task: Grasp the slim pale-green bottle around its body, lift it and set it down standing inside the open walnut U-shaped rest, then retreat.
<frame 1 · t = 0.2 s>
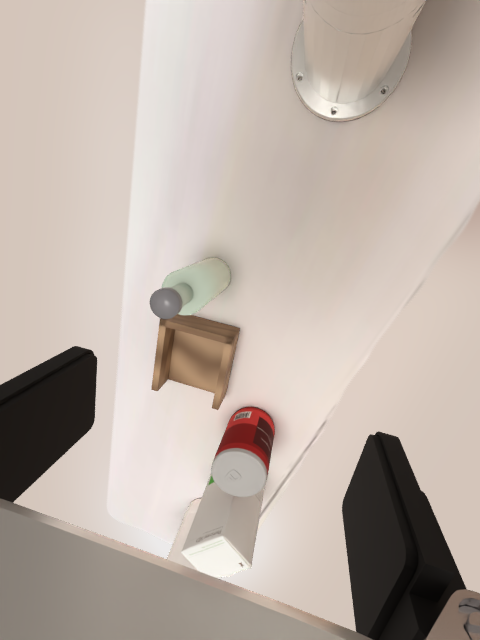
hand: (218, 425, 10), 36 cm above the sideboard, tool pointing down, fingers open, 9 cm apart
u rest: (200, 353, 51), on the sideboard
skincare box: (239, 472, 57), on the sideboard
canned food: (252, 424, 53), on the sideboard
bottle 2: (208, 512, 61), on the sideboard
bottle: (213, 275, 47), on the sideboard
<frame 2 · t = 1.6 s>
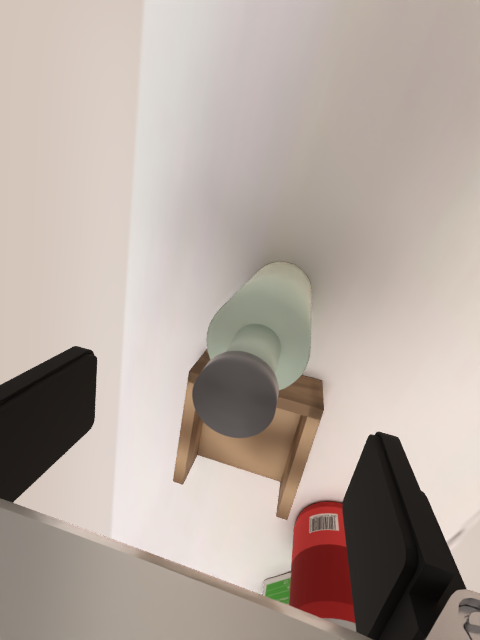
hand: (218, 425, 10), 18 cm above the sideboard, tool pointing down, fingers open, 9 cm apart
u rest: (250, 417, 31), on the sideboard
skincare box: (306, 588, 37), on the sideboard
canned food: (331, 526, 33), on the sideboard
bottle: (280, 292, 27), on the sideboard
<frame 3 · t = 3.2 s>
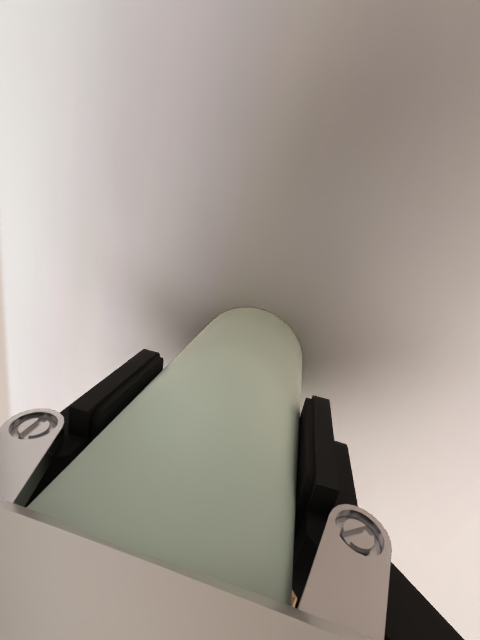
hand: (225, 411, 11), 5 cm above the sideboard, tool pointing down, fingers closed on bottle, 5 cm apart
bottle: (248, 358, 16), on the sideboard, touching gripper
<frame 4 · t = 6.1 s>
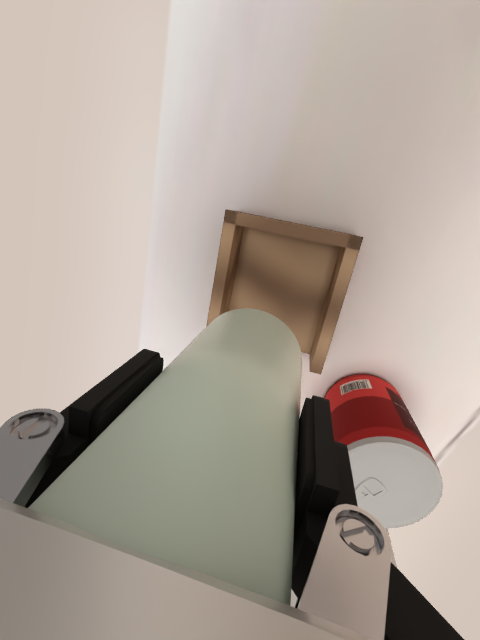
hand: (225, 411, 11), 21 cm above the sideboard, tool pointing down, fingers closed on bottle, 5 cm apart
u rest: (280, 285, 31), on the sideboard
canned food: (359, 404, 33), on the sideboard
bottle: (248, 359, 16), point 17 cm above the sideboard, touching gripper
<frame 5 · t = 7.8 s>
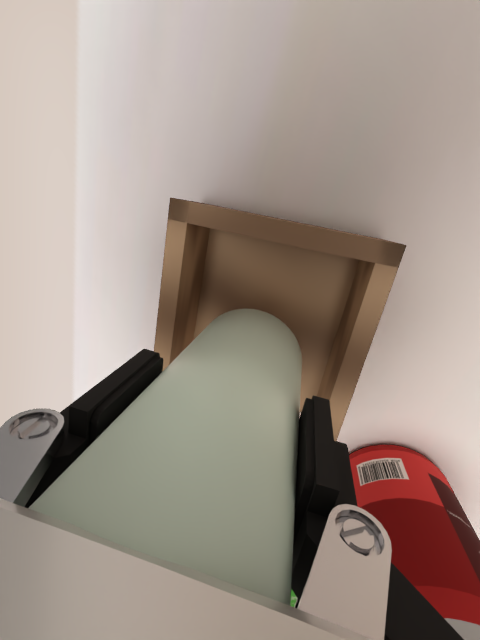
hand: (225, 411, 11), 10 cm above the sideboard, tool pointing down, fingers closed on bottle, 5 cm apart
u rest: (266, 314, 21), on the sideboard
canned food: (383, 484, 23), on the sideboard
bottle: (248, 359, 16), point 6 cm above the sideboard, touching gripper
when the fingers open (7 cm above the sideboard, at t = 9.0 s): bottle drops 1 cm, resting on u rest.
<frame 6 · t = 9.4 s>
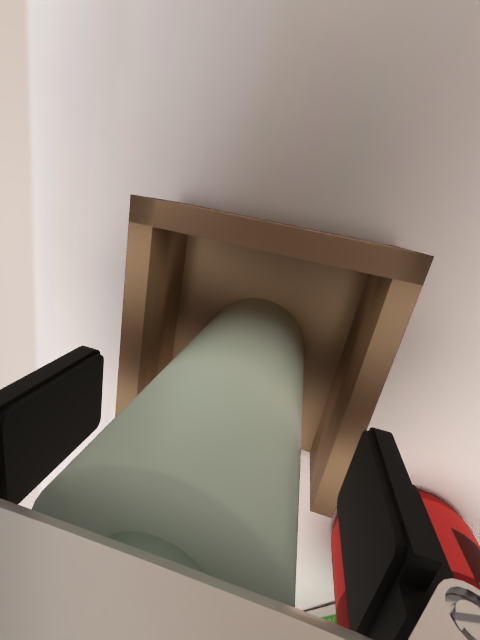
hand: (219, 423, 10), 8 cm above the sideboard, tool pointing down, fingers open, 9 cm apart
u rest: (257, 334, 17), on the sideboard
skincare box: (345, 632, 23), on the sideboard
canned food: (394, 530, 20), on the sideboard
bottle: (255, 345, 17), point 1 cm above the sideboard, touching u rest
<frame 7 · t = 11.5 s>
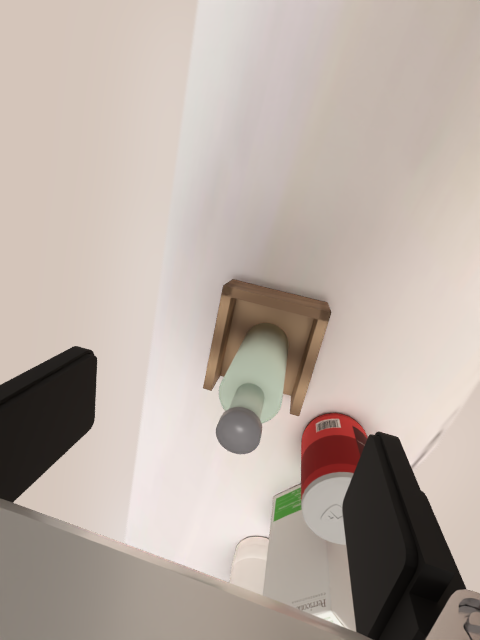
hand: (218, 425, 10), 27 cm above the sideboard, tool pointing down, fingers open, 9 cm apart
u rest: (267, 339, 37), on the sideboard
skincare box: (310, 501, 43), on the sideboard
canned food: (333, 437, 39), on the sideboard
bottle 2: (261, 555, 47), on the sideboard
bottle: (266, 344, 37), point 1 cm above the sideboard, touching u rest
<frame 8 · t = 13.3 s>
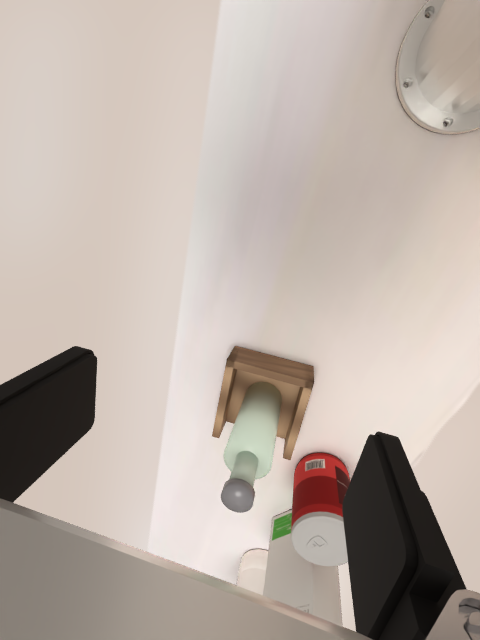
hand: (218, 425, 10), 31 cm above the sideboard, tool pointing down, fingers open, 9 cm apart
u rest: (264, 393, 45), on the sideboard
skincare box: (303, 522, 51), on the sideboard
canned food: (321, 471, 47), on the sideboard
bottle 2: (263, 564, 55), on the sideboard
bottle: (263, 398, 45), point 1 cm above the sideboard, touching u rest
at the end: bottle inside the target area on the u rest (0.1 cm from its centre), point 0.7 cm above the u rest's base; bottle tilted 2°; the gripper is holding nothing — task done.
